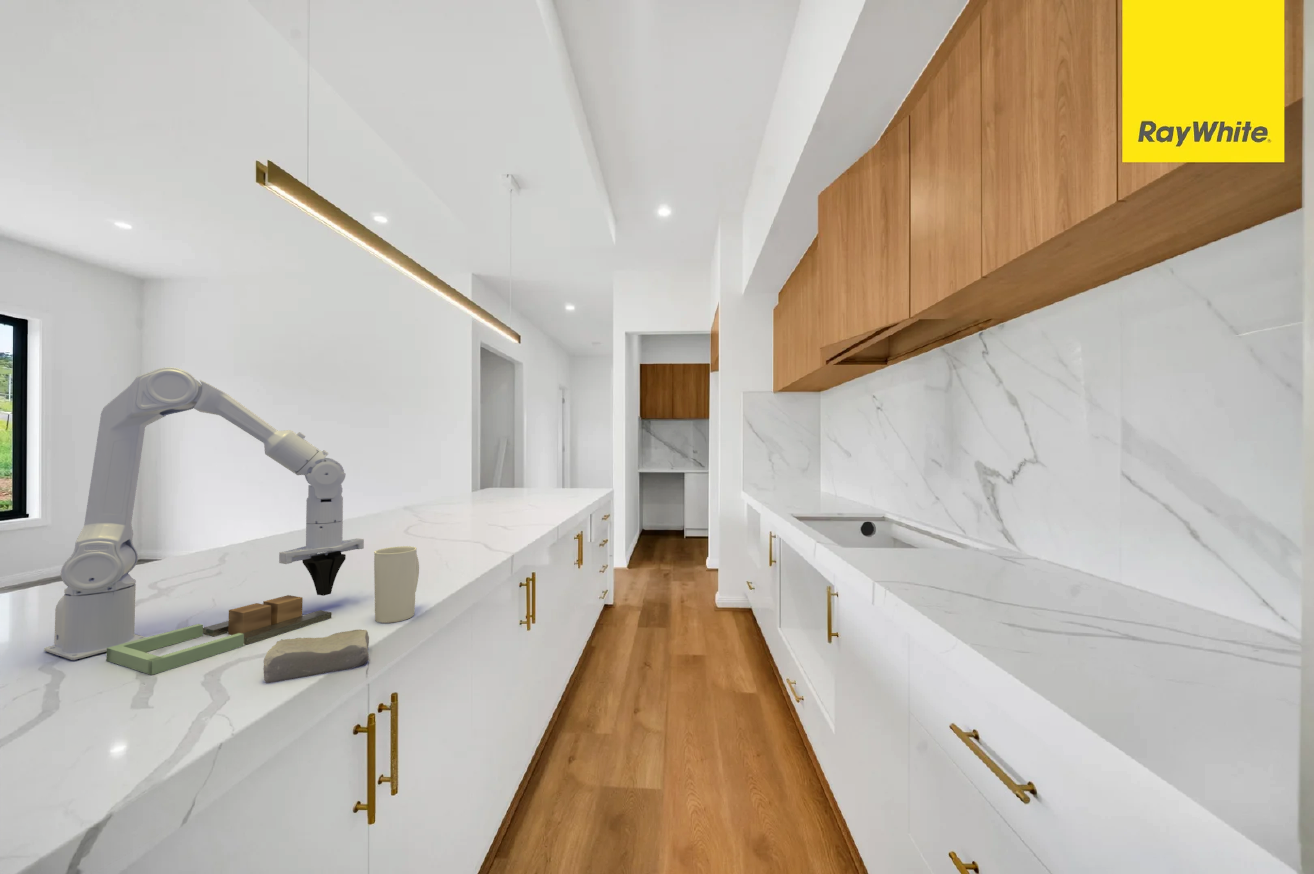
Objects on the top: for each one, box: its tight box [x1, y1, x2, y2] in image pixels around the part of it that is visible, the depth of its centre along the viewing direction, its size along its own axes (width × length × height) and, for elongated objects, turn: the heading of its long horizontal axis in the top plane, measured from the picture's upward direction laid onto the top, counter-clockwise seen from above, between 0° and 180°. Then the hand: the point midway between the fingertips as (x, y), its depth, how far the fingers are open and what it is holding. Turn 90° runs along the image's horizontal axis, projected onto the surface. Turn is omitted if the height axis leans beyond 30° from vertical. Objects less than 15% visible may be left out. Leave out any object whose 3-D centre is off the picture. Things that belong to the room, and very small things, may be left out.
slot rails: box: [203, 609, 332, 645], centre depth 83 cm, size 12×13×1 cm
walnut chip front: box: [227, 602, 271, 636], centre depth 80 cm, size 4×4×4 cm
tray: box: [105, 623, 245, 676], centre depth 72 cm, size 12×10×2 cm
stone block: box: [262, 629, 370, 684], centre depth 69 cm, size 12×5×10 cm
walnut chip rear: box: [262, 594, 304, 625], centre depth 85 cm, size 4×4×4 cm
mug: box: [373, 545, 420, 624], centre depth 89 cm, size 10×7×12 cm, turn 173°
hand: (323, 594), depth 92 cm, fingers closed
